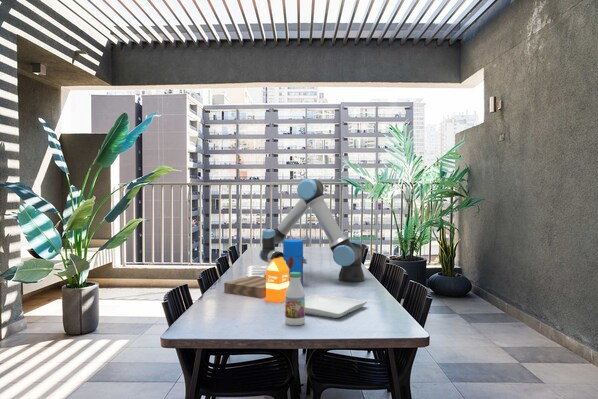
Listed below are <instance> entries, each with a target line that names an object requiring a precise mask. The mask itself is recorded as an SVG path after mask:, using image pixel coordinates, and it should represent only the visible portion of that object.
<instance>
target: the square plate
mask: <svg viewBox="0 0 598 399" xmlns="http://www.w3.org/2000/svg"><path fill="white" fill-rule="evenodd" d="M367 303H368V302H367V300H359V299H356V298H355V299H354V298H351V297H350V298H349V297H344V296H339V295H337V296H335V295H328V294H320V293H319V294H318V293H314V294H311V295H308V296H305V313H306V314H305V315H311V314H312V315H313V316H317V315H319V316H318V317H323V316H324V318H330V317H332V319H333V318H335V319H337V318H340V317H344V316H345V315H347V313H348V314H350V313H351V312H355V311H357V310H358V309H360V308H362V307H364V306H365V305H367ZM349 312H350V313H349Z"/></svg>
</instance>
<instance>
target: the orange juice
mask: <svg viewBox="0 0 598 399" xmlns="http://www.w3.org/2000/svg"><path fill="white" fill-rule="evenodd" d="M267 266H268V268H267V269H266V297H265V301H266V302H273V303H282V302H285V296H286V290H287V287H288V285H289V268H288V266H287V265H286V263H285V261H284V259H283V257H280V258H276V259H273V260H272V261H271V263H269V264H268V265H267Z"/></svg>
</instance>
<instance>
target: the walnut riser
mask: <svg viewBox="0 0 598 399" xmlns="http://www.w3.org/2000/svg"><path fill="white" fill-rule="evenodd" d="M223 285H224V286H223V287H224V289H223V290H224V291H223V292H224V293H225V294H232V295H238V296H243V297H244V296H245V297H251V298H257V299H264V298H265V299H266V277H260V276H250V277H246V276H245V277H243V278H238V279H235V280H231V281H227V282H224V284H223Z"/></svg>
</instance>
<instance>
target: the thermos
mask: <svg viewBox="0 0 598 399" xmlns="http://www.w3.org/2000/svg"><path fill="white" fill-rule="evenodd" d="M282 250H283V251H282V253H283V259H284V261H286V265H287V266H288V268H289V273H290V272H300V273H301V278H300V281H301V284H302V287H303V283H304V263H303V257H304V242H303V240H302V239H285V240H284V241H283V243H282ZM289 282H290V278H289ZM303 288H304V287H303Z"/></svg>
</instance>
